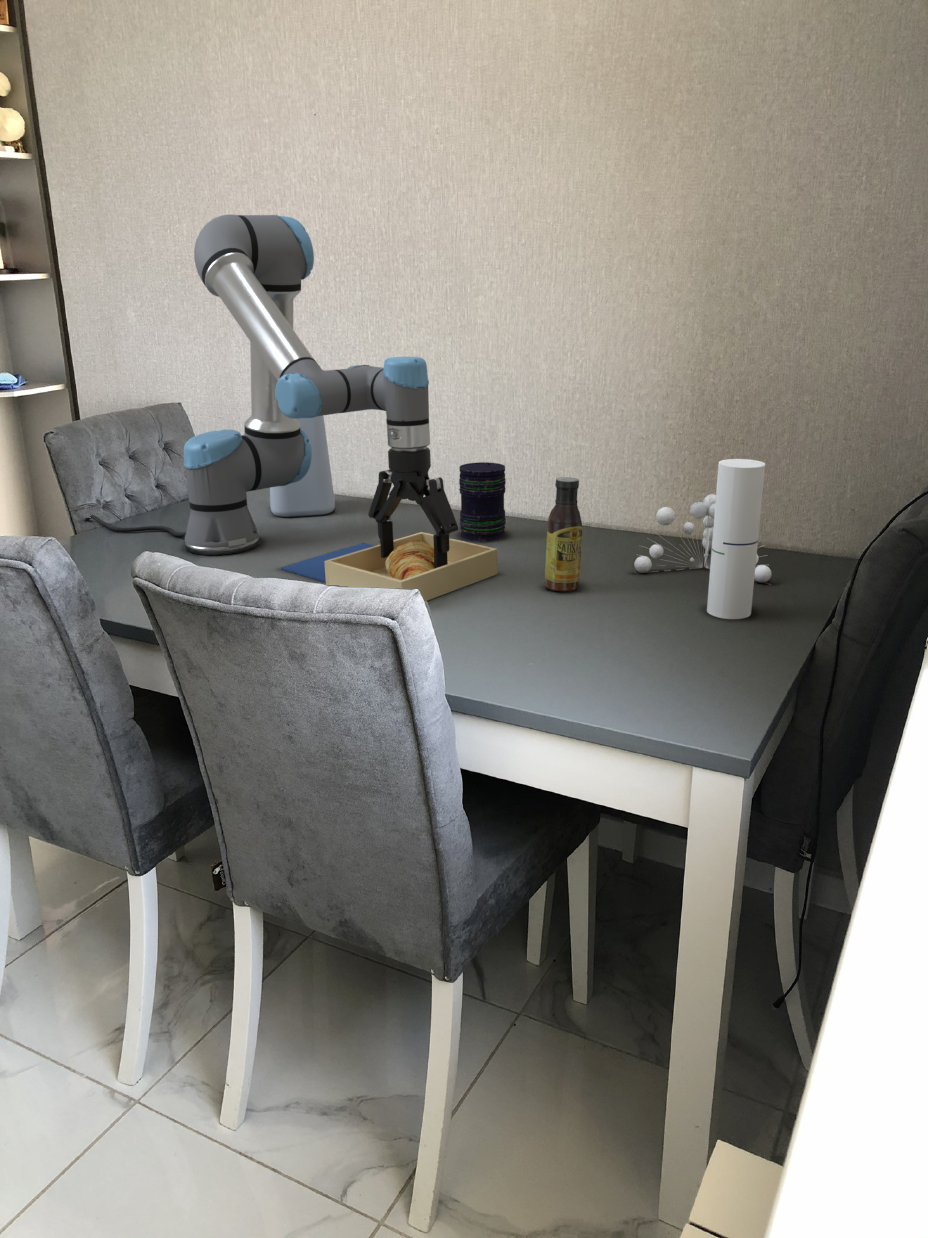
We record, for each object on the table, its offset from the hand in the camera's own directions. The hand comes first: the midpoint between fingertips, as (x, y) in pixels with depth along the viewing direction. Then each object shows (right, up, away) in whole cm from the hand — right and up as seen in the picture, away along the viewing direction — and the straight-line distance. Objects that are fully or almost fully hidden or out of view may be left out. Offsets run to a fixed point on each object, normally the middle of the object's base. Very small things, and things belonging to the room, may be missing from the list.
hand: (413, 562), depth 178 cm
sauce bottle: (+27, -5, -4) cm, 28 cm away
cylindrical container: (+54, -9, -17) cm, 57 cm away
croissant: (0, -3, +1) cm, 3 cm away
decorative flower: (+52, -1, +6) cm, 52 cm away
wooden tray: (0, -3, +1) cm, 4 cm away
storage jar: (+13, +7, +30) cm, 34 cm away
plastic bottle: (-29, +16, +54) cm, 64 cm away
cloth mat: (-14, +1, +12) cm, 19 cm away
